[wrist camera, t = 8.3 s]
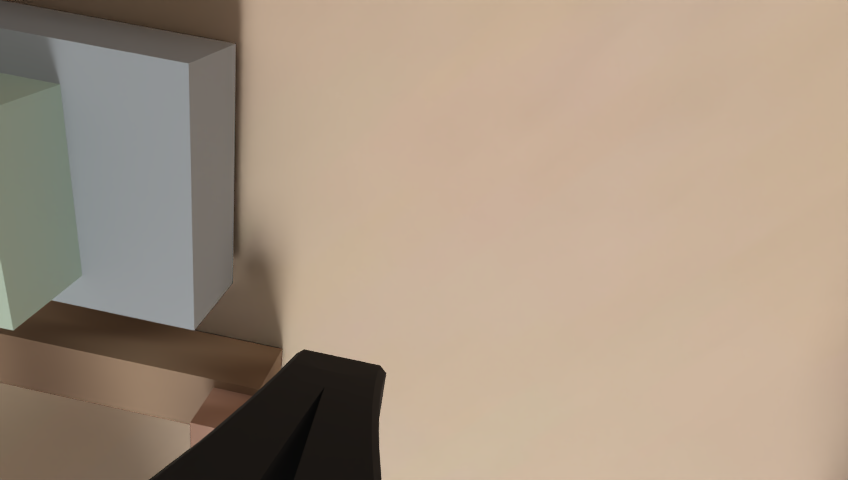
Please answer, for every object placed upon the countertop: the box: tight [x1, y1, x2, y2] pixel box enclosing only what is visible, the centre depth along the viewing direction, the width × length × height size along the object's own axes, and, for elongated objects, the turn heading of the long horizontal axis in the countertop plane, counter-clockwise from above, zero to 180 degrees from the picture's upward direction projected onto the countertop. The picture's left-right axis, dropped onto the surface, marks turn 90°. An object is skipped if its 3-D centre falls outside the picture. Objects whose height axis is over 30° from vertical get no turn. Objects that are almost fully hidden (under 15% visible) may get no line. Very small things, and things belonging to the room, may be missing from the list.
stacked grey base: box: [0, 0, 236, 330], centre depth 16 cm, size 10×7×6 cm
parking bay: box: [0, 300, 282, 447], centre depth 16 cm, size 14×16×4 cm
